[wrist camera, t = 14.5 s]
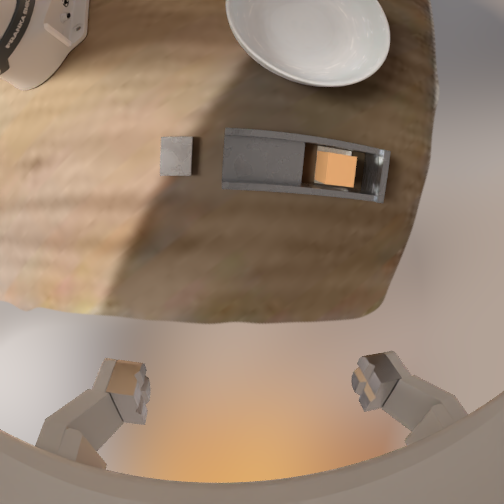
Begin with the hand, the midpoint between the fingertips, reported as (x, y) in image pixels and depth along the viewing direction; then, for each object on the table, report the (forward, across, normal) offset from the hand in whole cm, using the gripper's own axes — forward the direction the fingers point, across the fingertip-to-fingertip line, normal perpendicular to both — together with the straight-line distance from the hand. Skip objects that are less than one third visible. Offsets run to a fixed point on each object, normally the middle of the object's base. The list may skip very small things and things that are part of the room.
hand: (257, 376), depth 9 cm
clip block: (+29, -13, -6) cm, 32 cm away
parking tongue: (+29, +7, -6) cm, 31 cm away
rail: (+29, -9, -6) cm, 31 cm away
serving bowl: (+29, -8, -26) cm, 40 cm away
